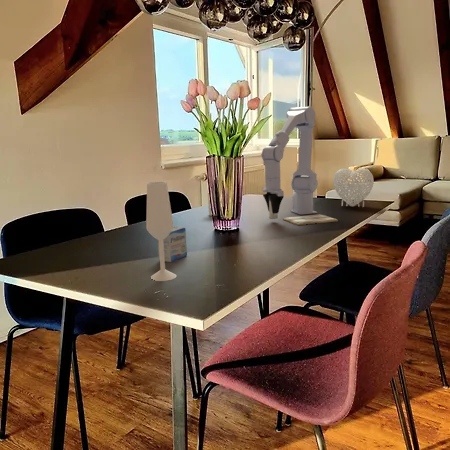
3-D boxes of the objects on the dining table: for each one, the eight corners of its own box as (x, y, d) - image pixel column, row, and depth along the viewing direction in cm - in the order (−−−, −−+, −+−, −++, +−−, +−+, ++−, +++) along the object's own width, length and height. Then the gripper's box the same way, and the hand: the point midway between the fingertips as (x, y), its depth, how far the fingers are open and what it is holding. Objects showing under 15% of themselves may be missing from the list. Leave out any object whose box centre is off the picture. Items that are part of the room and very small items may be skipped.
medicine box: (170, 262, 127) (168, 232, 125) (158, 261, 129) (156, 231, 128) (187, 255, 134) (185, 227, 132) (175, 254, 136) (173, 226, 134)
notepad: (282, 219, 181) (282, 217, 181) (320, 215, 186) (320, 213, 186) (298, 225, 169) (298, 223, 169) (337, 221, 174) (337, 218, 174)
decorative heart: (376, 205, 203) (377, 167, 200) (368, 209, 195) (369, 169, 191) (338, 203, 214) (338, 167, 210) (329, 207, 205) (329, 169, 202)
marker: (267, 217, 177) (267, 197, 176) (275, 216, 178) (275, 196, 177) (271, 219, 174) (270, 198, 172) (279, 218, 175) (279, 198, 173)
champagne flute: (144, 278, 114) (137, 183, 109) (161, 271, 119) (155, 180, 114) (165, 282, 110) (158, 184, 105) (181, 274, 116) (176, 181, 111)
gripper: (255, 176, 178) (256, 210, 181) (271, 180, 165) (271, 216, 168) (272, 175, 181) (272, 208, 183) (288, 178, 167) (288, 214, 170)
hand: (273, 212), depth 176 cm, fingers closed on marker, 3 cm apart
